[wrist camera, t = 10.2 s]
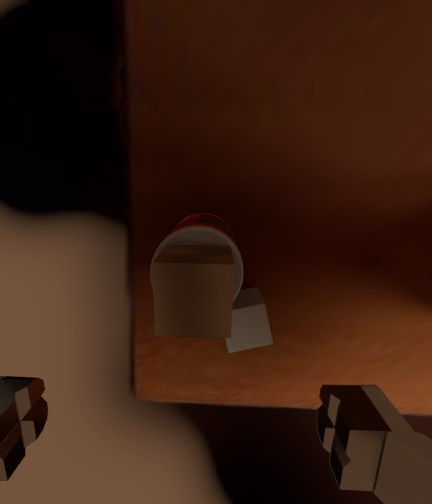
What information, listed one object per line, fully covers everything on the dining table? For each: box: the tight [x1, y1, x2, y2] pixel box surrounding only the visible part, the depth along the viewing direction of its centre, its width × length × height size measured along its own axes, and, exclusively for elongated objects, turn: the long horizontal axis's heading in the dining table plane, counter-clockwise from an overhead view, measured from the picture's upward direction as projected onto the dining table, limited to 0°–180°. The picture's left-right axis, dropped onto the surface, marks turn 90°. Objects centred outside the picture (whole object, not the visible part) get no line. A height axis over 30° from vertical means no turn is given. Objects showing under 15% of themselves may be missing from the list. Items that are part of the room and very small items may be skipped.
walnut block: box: [153, 244, 235, 338], centre depth 20 cm, size 5×5×5 cm
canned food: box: [150, 213, 244, 301], centre depth 28 cm, size 8×8×11 cm
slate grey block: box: [225, 287, 273, 353], centre depth 33 cm, size 5×5×5 cm
